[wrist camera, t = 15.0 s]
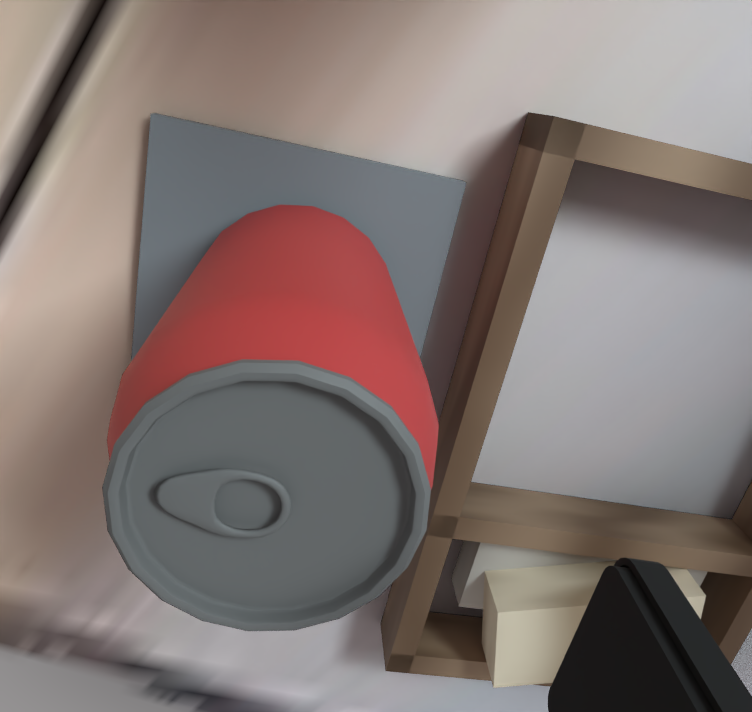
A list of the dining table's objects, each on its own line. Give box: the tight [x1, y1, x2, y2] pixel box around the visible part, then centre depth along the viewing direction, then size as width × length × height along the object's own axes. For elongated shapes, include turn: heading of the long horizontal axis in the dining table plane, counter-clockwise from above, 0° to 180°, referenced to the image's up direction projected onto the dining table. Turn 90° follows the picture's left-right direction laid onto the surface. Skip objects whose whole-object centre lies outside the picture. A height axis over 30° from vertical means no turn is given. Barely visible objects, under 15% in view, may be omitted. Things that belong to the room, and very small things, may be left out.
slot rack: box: [381, 112, 752, 686], centre depth 25 cm, size 15×22×2 cm
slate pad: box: [131, 113, 466, 361], centre depth 22 cm, size 10×10×1 cm
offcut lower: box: [451, 540, 708, 609], centre depth 28 cm, size 10×4×2 cm, turn 78°
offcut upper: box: [482, 561, 706, 688], centre depth 26 cm, size 8×4×2 cm, turn 92°
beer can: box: [102, 205, 439, 631], centre depth 16 cm, size 7×7×12 cm
